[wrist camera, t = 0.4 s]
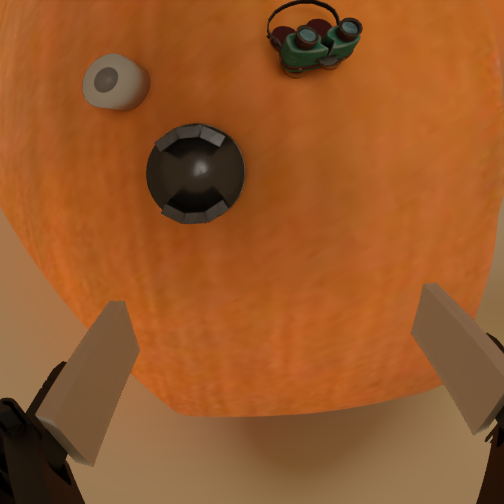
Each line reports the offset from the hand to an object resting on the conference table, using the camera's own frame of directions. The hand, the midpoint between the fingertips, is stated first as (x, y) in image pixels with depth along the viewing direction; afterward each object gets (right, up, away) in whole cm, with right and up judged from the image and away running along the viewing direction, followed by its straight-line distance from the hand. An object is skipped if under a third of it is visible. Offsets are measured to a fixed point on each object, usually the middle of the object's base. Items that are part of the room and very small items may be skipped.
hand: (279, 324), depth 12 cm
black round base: (-7, +13, +23) cm, 27 cm away
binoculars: (+5, +28, +17) cm, 33 cm away
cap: (-17, +24, +18) cm, 34 cm away
